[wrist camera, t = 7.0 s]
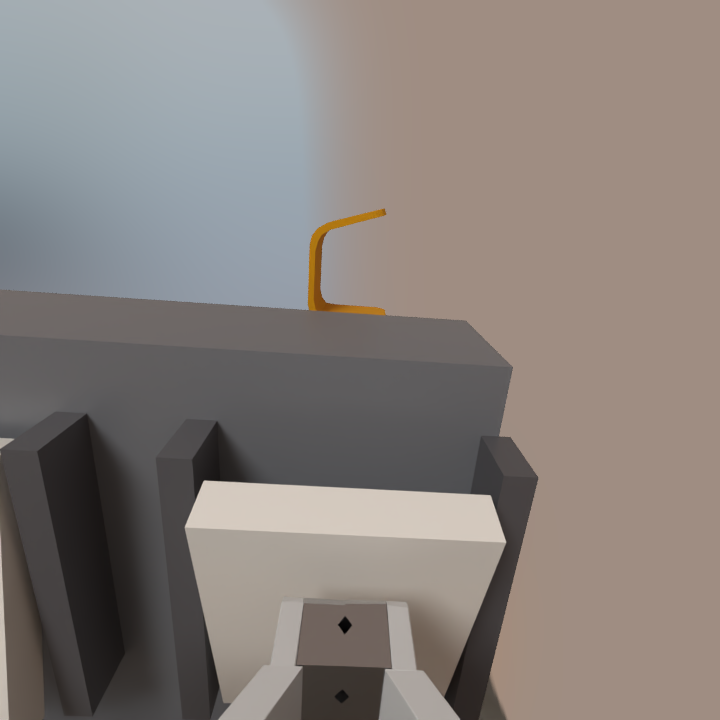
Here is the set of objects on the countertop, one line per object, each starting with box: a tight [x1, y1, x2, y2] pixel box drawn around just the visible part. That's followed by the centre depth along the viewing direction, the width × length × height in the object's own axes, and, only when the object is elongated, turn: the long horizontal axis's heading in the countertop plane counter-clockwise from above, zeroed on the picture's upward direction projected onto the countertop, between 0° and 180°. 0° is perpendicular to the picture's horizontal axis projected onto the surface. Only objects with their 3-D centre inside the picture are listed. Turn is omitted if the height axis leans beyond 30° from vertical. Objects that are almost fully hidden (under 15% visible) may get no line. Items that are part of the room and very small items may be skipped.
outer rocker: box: [185, 481, 506, 703], centre depth 14 cm, size 8×2×10 cm, turn 91°
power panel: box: [0, 290, 538, 720], centre depth 19 cm, size 26×10×20 cm, turn 91°
